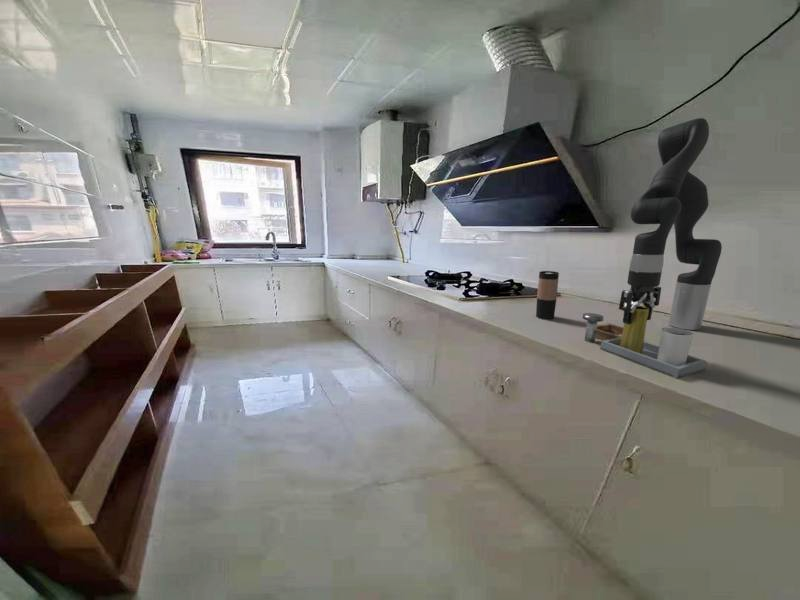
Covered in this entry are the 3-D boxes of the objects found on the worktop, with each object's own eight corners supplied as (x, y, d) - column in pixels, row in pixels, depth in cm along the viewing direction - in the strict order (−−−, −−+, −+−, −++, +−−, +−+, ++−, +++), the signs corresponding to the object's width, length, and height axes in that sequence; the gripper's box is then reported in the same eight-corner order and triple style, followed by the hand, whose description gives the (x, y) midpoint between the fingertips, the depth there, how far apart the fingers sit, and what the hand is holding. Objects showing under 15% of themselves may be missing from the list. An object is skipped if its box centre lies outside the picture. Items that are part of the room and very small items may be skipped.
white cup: (673, 359, 87) (680, 327, 85) (693, 370, 81) (701, 335, 78) (649, 359, 88) (655, 327, 85) (666, 370, 81) (674, 335, 79)
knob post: (588, 336, 108) (591, 312, 106) (604, 342, 102) (607, 316, 100) (575, 339, 106) (578, 314, 104) (591, 345, 101) (595, 319, 98)
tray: (625, 343, 101) (626, 335, 100) (704, 370, 82) (706, 360, 81) (600, 349, 97) (601, 341, 96) (676, 378, 78) (679, 368, 77)
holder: (607, 330, 113) (608, 323, 112) (638, 340, 103) (639, 332, 102) (586, 334, 110) (587, 327, 109) (616, 345, 100) (617, 337, 99)
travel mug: (533, 314, 135) (536, 271, 131) (550, 314, 134) (555, 270, 129) (538, 319, 128) (542, 273, 123) (557, 320, 127) (562, 273, 122)
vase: (647, 355, 90) (655, 310, 87) (624, 354, 92) (632, 309, 88) (636, 347, 96) (643, 304, 93) (615, 346, 98) (621, 304, 94)
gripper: (647, 265, 93) (639, 315, 97) (615, 269, 89) (608, 321, 93) (675, 268, 86) (665, 321, 90) (643, 273, 82) (633, 328, 86)
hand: (636, 321), depth 92 cm, fingers open, 8 cm apart
